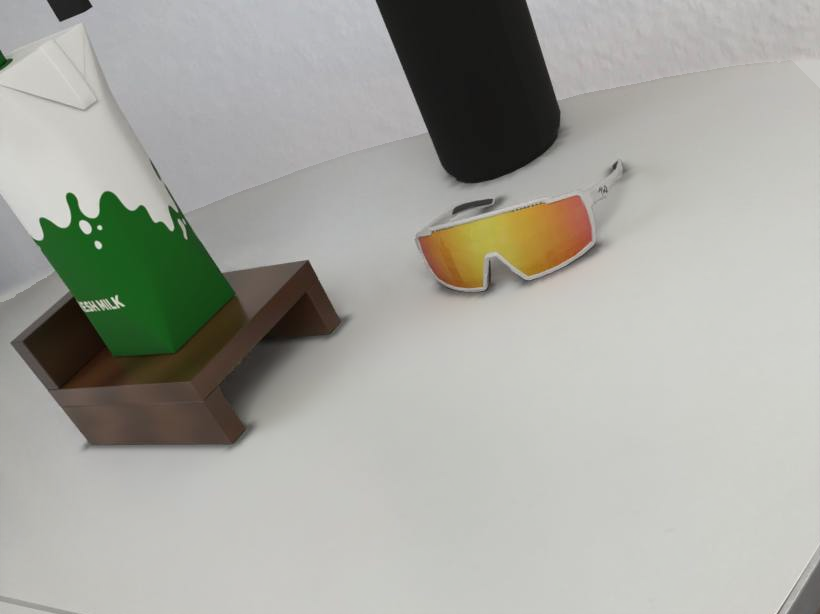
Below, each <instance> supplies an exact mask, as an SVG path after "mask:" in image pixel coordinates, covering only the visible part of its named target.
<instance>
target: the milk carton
mask: <svg viewBox="0 0 820 614" xmlns="http://www.w3.org/2000/svg"><path fill="white" fill-rule="evenodd" d="M0 196H1V197H2V198H3V200H4V201H5V202H6V204H7V206H8V207H9V209H10V210H11V211H12V213H13V214H14V215H15V217H16V218H17V219H18V221H19V222H20V224H21V226H23V228H24V229H25V230H26V232H27V233H28V235H29V236H30V237H31V239H32V240H33V241H34V243H35V244H36V246H37V247H38V249H39V250H40V251H41V253H42V254H43V256H44V257H45V258H46V260H47V261H48V263H49V264H50V265H51V267H52V268H53V269H54V271H55V272H56V274H57V275H58V276H59V278H60V279H61V281H62V282H63V283H64V285H65V287H66V288H67V289H68V290H69V291H70V292H71V293H72V295H73V296H74V297H75V299H76V300H77V302H78V303H79V305H80V306H81V308H82V309H83V311H84V313H85V314H86V316H87V317H88V319H89V320H90V322H91V323H92V325H93V326H94V328H95V329H96V331H97V332H98V334H99V335H100V337H101V338H102V340H103V341H104V343H105V344H106V346H107V347H108V349H109V350H110V352H111V353H112V355H113V356H114V357H120V356H137V355H153V354H169V353H176V352H177V351H178V350H179V349H180V348H181V347H182V346H183V345H184V344H185V343H186V342H187V341H188V340H189V339H190V338H191V337H192V336H193V335H194V334H195V333H196V332H197V331H198V330H199V329H200V328H201V327H202V326H203V325H204V324H205V323H206V322H207V321H208V320H209V319H210V318H212V317H213V316H214V315H215V314H216V313H217V312H218V311H219V310H220V309H221V308H222V307H223V306H224V305H225V304H226V303H227V302H228V301H229V300H230V299H231V298H232V297H233V296H234V295H235V294H236V293H235V292H234V290H233V289H232V287H231V286H230V284H229V283H228V281H227V280H226V278H225V277H224V275H223V274H222V273H223V272H222V271H221V270H220V267H219V266H218V265H217V263H216V262H215V259H213V257H212V256H211V254H210V253H209V251H208V249H207V248H206V247H205V246H204V244H203V242H202V241H201V240H200V238H199V236H198V235H197V233H195V231H194V229H193V228H192V226H191V225H190V223H189V221H188V220H187V218H186V216H185V215H184V213H183V211H182V209H181V208H180V206H179V205H178V203H177V201H176V200H175V198H174V196H173V194H172V193H171V191H170V189H169V188H168V186H167V185H166V183H165V181H164V180H163V178H162V176H161V175H160V173H159V171H158V169H157V168H156V166H155V164H154V162H153V161H152V159H151V158H150V156H149V154H148V152H147V151H146V149H145V147H144V146H143V144H142V142H141V141H140V139H139V138H138V136H137V134H136V133H135V131H134V129H133V127H132V126H131V124H130V123H129V120H128V119H127V117H126V115H125V114H124V112H123V111H122V109H121V107H120V105H119V104H118V103H117V100H116V99H115V97H114V95H113V93H112V90H111V88H110V85H109V83H108V81H107V79H106V76H105V74H104V71H103V69H102V66H101V64H100V62H99V59H98V56H97V53H96V52H95V49H94V47H93V44H92V41H91V39H90V36H89V34H88V32H87V29H86V26H85V24H84V22H79V23H77V24H74V25H72V26H69V27H67V28H64V29H62V30H60V31H57V32H55V33H54V32H53V33H52V34H50V35H47V36H45V37H43V38H40V39H37V40H35V41H33V42H30V43H28V44H24V45H23V46H20V47H18V48H16V49H14V50H12V51H11V52H9V53H6V54H5V55H4V54H3V52H2V50H1V49H0Z"/></svg>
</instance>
